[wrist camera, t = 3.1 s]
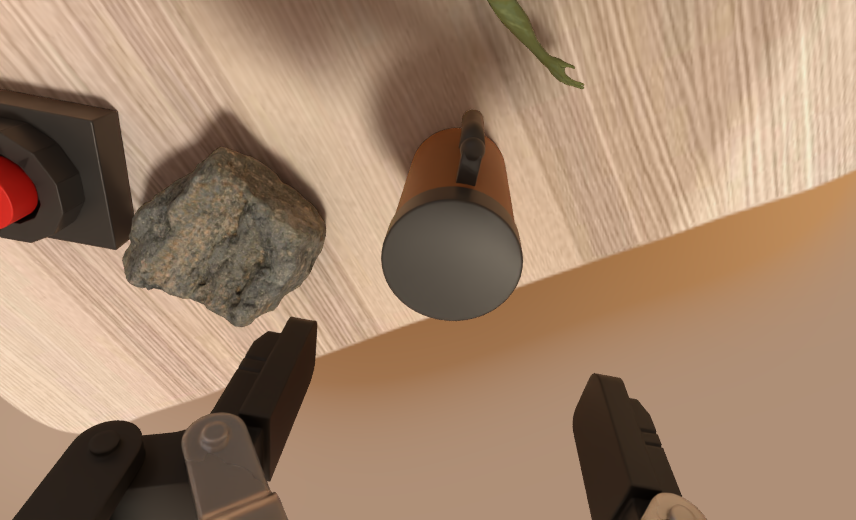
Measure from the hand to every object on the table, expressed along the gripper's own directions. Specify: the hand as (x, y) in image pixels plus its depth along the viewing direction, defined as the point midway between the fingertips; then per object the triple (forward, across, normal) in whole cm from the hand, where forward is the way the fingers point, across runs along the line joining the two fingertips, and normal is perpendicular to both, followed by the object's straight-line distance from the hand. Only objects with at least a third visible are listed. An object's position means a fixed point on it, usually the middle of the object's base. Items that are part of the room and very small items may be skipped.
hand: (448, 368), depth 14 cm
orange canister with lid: (+16, 0, 0) cm, 16 cm away
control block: (+16, +24, +4) cm, 29 cm away
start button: (+12, +24, +4) cm, 27 cm away
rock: (+16, +13, +6) cm, 22 cm away
